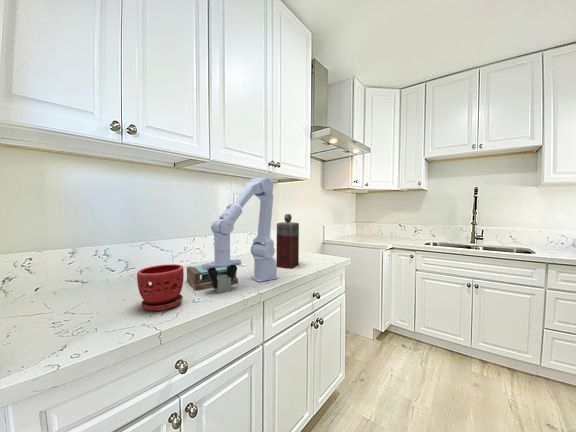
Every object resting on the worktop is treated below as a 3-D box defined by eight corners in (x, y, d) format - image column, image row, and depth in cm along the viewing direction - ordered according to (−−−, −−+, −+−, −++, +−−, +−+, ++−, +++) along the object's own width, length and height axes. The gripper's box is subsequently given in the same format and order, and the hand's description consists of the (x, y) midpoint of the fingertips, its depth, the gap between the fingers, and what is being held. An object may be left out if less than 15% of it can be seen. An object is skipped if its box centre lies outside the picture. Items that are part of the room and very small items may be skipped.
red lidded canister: (280, 263, 139) (281, 213, 138) (298, 265, 134) (299, 214, 133) (272, 266, 131) (272, 213, 130) (291, 268, 126) (291, 214, 125)
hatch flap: (220, 270, 112) (220, 262, 111) (230, 276, 102) (230, 268, 102) (192, 274, 105) (192, 266, 105) (200, 281, 95) (200, 272, 95)
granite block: (226, 287, 96) (226, 274, 96) (231, 290, 92) (231, 277, 92) (213, 289, 93) (213, 276, 93) (218, 293, 89) (218, 279, 89)
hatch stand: (225, 275, 113) (225, 262, 113) (237, 283, 101) (237, 268, 101) (186, 281, 104) (186, 266, 104) (195, 290, 92) (195, 274, 92)
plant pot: (184, 295, 87) (184, 262, 86) (182, 310, 74) (182, 271, 74) (142, 300, 82) (142, 264, 82) (132, 316, 70) (132, 275, 69)
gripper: (236, 247, 100) (236, 280, 100) (199, 250, 91) (199, 286, 92) (243, 249, 94) (243, 285, 94) (205, 253, 86) (205, 292, 86)
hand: (222, 286), depth 93 cm, fingers closed on granite block, 5 cm apart
